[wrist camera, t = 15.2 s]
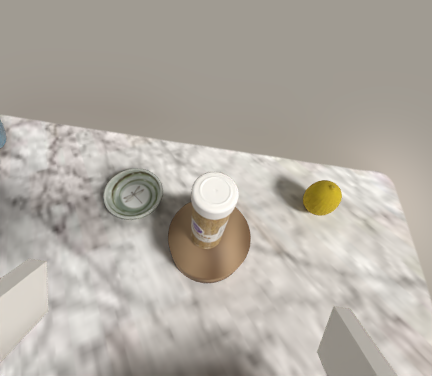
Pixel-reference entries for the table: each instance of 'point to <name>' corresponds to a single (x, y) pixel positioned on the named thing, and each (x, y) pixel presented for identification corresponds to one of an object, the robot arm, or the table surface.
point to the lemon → (322, 197)
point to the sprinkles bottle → (211, 207)
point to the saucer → (133, 194)
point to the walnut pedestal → (208, 258)
